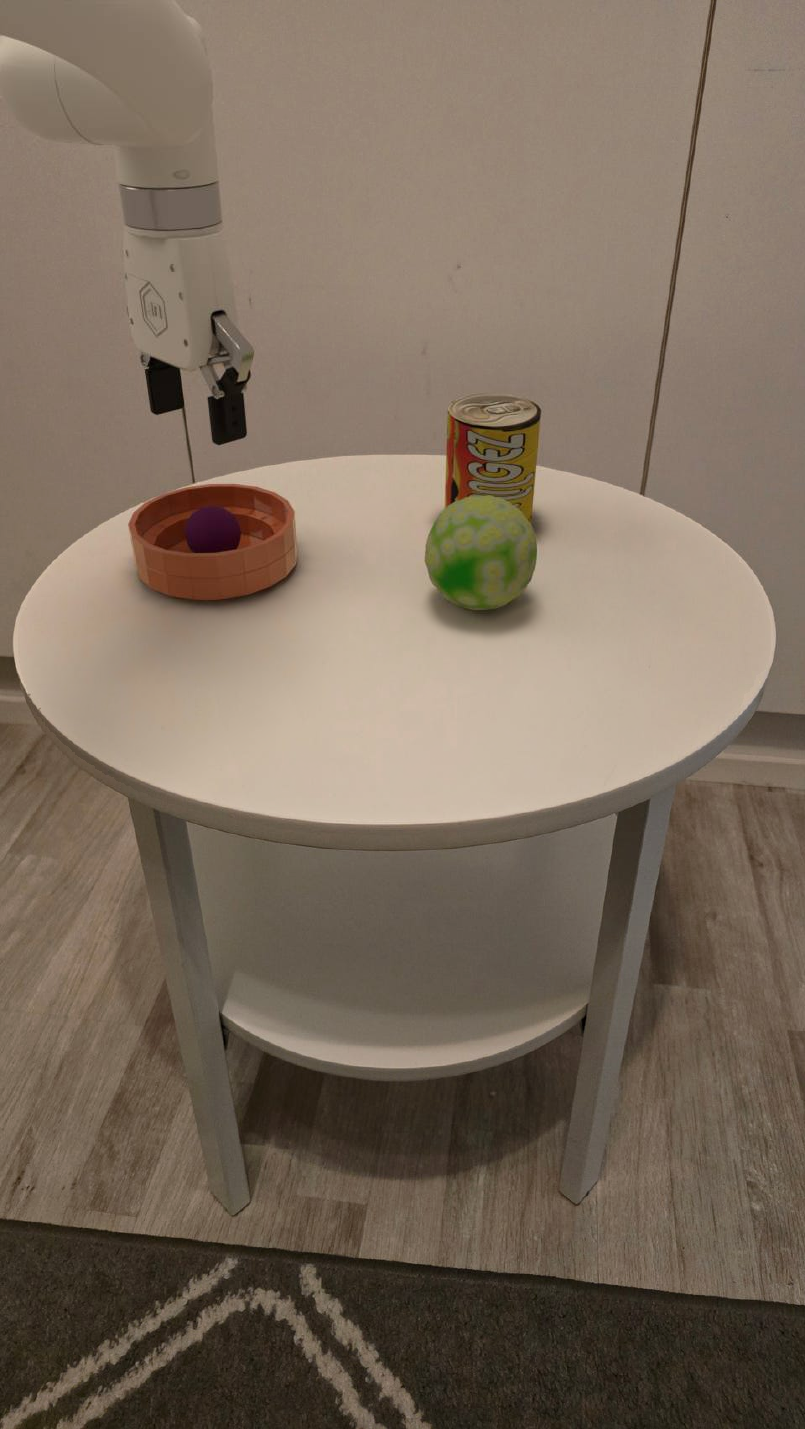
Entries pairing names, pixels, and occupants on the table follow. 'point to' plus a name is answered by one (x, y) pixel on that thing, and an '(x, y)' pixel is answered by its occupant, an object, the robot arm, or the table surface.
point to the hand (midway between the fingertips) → (198, 425)
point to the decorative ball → (481, 552)
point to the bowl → (221, 574)
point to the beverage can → (492, 449)
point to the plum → (212, 530)
